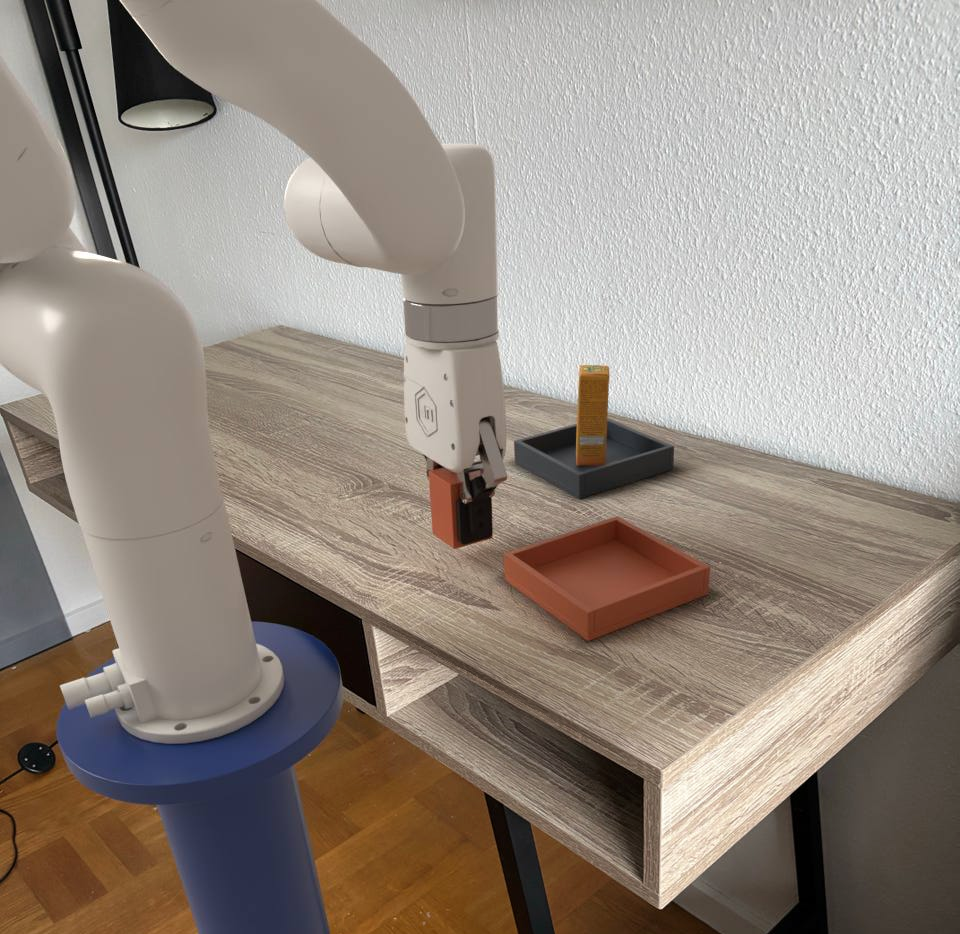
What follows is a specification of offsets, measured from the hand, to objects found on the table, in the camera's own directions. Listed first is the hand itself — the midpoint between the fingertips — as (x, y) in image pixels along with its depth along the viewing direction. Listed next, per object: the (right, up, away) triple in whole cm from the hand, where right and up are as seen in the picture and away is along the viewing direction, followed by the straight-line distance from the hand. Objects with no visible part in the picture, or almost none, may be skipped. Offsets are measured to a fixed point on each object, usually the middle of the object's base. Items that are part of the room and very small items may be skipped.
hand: (462, 528), depth 84 cm
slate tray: (+14, +9, +18) cm, 24 cm away
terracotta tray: (+12, -5, -4) cm, 14 cm away
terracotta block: (0, -1, 0) cm, 1 cm away
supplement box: (+14, +9, +18) cm, 24 cm away
